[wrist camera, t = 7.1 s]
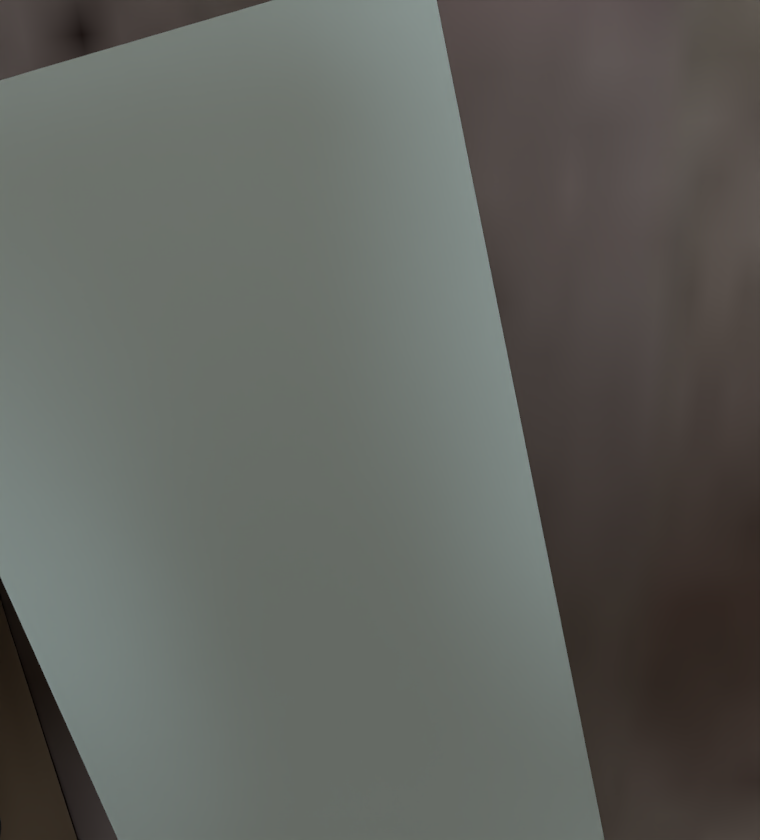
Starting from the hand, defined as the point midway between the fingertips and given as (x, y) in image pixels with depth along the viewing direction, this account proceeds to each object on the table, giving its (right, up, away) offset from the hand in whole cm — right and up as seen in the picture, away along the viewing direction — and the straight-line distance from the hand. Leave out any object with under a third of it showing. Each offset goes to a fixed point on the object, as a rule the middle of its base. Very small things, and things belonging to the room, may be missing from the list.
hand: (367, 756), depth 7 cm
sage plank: (0, +1, +3) cm, 3 cm away
